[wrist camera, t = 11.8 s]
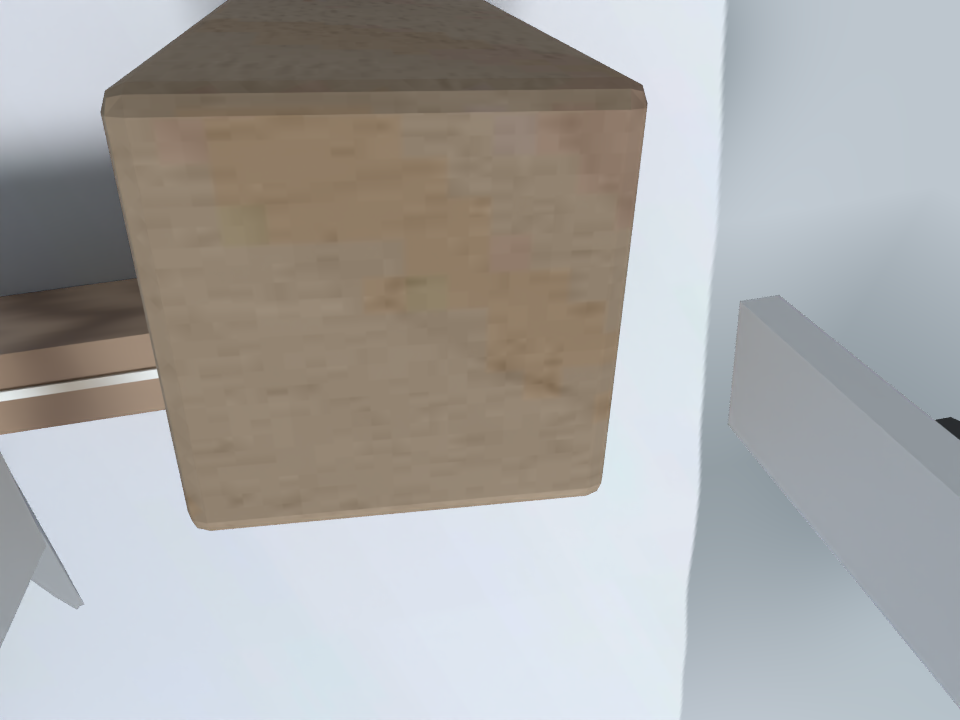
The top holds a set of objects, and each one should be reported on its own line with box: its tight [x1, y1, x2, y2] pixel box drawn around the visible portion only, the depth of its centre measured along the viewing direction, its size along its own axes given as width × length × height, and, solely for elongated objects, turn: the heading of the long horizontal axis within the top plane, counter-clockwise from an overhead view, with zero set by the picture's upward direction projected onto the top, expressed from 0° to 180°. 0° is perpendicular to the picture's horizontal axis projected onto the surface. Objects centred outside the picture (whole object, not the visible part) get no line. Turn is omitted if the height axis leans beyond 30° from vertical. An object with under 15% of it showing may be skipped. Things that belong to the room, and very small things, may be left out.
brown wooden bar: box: [0, 278, 165, 435], centre depth 34 cm, size 24×4×6 cm, turn 95°
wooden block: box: [101, 0, 647, 531], centre depth 25 cm, size 10×10×20 cm
